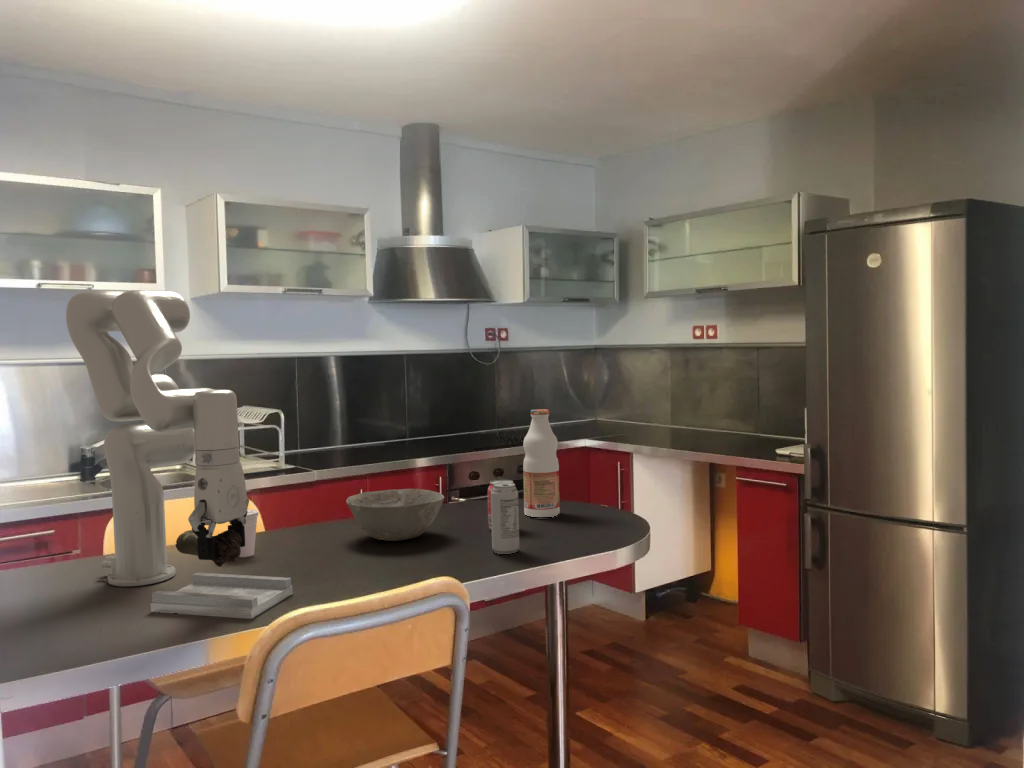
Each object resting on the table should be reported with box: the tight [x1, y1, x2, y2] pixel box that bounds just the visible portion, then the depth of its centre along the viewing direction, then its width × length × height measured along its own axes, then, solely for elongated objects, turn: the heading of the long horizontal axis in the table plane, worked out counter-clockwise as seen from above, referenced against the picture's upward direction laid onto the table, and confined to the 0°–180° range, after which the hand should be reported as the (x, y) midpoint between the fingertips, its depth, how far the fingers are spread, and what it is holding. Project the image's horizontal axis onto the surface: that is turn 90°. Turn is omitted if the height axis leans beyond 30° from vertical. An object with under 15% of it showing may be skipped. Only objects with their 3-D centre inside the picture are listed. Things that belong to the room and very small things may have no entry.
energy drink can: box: [491, 482, 520, 555], centre depth 182 cm, size 6×6×15 cm
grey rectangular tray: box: [150, 572, 294, 620], centre depth 151 cm, size 20×14×3 cm
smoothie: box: [239, 508, 260, 558], centre depth 184 cm, size 6×6×14 cm
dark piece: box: [175, 529, 242, 568], centre depth 152 cm, size 18×7×6 cm, turn 46°
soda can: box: [487, 479, 514, 531], centre depth 203 cm, size 7×7×12 cm
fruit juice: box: [522, 408, 561, 518], centre depth 218 cm, size 9×9×28 cm
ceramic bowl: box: [345, 488, 445, 542], centre depth 197 cm, size 22×23×10 cm
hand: (222, 552), depth 150 cm, fingers closed on dark piece, 8 cm apart
